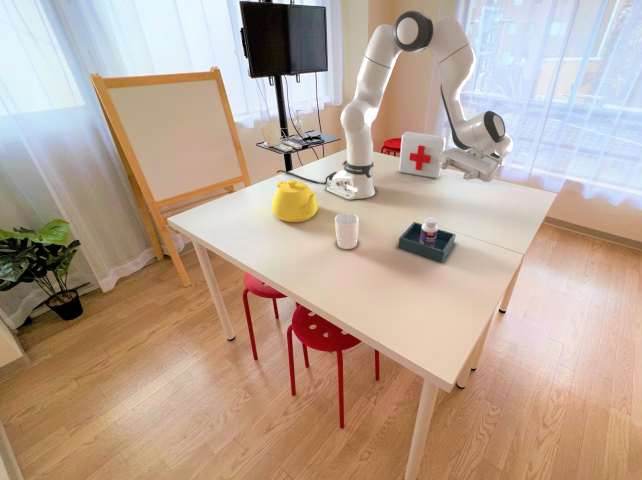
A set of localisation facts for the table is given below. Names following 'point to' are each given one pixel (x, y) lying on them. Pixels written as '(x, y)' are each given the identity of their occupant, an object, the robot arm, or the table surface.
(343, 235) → the white cup
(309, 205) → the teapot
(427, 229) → the pill bottle
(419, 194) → the table surface
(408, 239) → the tote
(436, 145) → the bevelled white case
